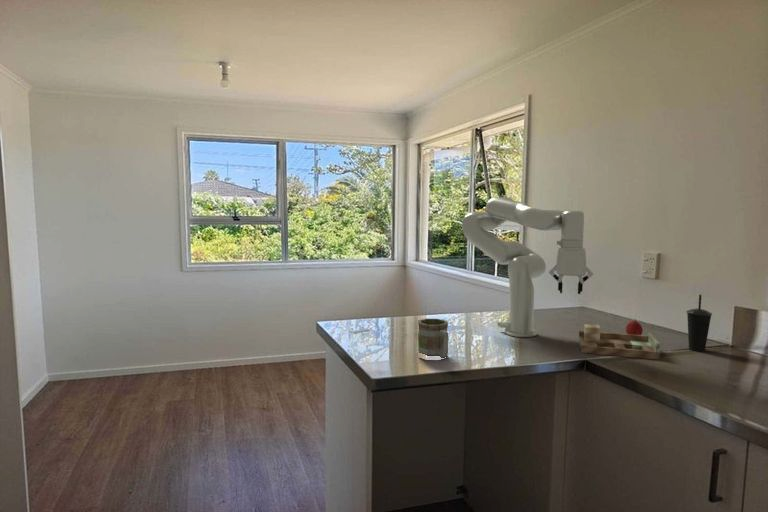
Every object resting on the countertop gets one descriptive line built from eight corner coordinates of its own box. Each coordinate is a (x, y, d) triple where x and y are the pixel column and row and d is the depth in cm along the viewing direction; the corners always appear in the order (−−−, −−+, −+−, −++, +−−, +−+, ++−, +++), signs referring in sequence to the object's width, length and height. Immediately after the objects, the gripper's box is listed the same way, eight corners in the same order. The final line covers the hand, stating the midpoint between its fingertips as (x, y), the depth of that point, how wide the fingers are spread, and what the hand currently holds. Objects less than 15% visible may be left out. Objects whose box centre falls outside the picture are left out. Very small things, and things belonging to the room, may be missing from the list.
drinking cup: (705, 347, 171) (709, 293, 169) (712, 353, 164) (716, 297, 162) (681, 345, 173) (684, 292, 171) (687, 351, 166) (691, 295, 164)
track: (581, 352, 165) (582, 337, 164) (578, 342, 178) (579, 327, 178) (659, 359, 157) (659, 343, 157) (649, 347, 170) (650, 333, 170)
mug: (411, 353, 165) (411, 319, 163) (439, 350, 168) (439, 317, 167) (431, 367, 150) (432, 330, 149) (461, 363, 154) (461, 327, 153)
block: (584, 340, 171) (585, 327, 171) (583, 337, 176) (584, 324, 175) (599, 341, 170) (600, 328, 169) (598, 338, 174) (598, 325, 174)
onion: (644, 341, 179) (645, 321, 178) (627, 340, 180) (628, 320, 179) (639, 337, 184) (640, 317, 183) (623, 336, 185) (624, 317, 185)
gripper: (547, 244, 171) (545, 293, 173) (598, 245, 166) (596, 296, 167) (546, 243, 178) (545, 290, 180) (596, 244, 173) (594, 292, 175)
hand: (569, 292), depth 174 cm, fingers open, 5 cm apart
